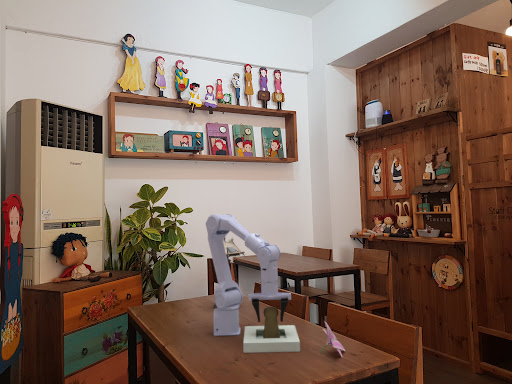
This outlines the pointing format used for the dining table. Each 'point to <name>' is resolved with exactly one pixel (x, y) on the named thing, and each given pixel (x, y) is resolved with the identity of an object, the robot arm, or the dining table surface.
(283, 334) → the slot box
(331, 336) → the lily
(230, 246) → the bird statue
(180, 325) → the dining table surface
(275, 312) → the cork
